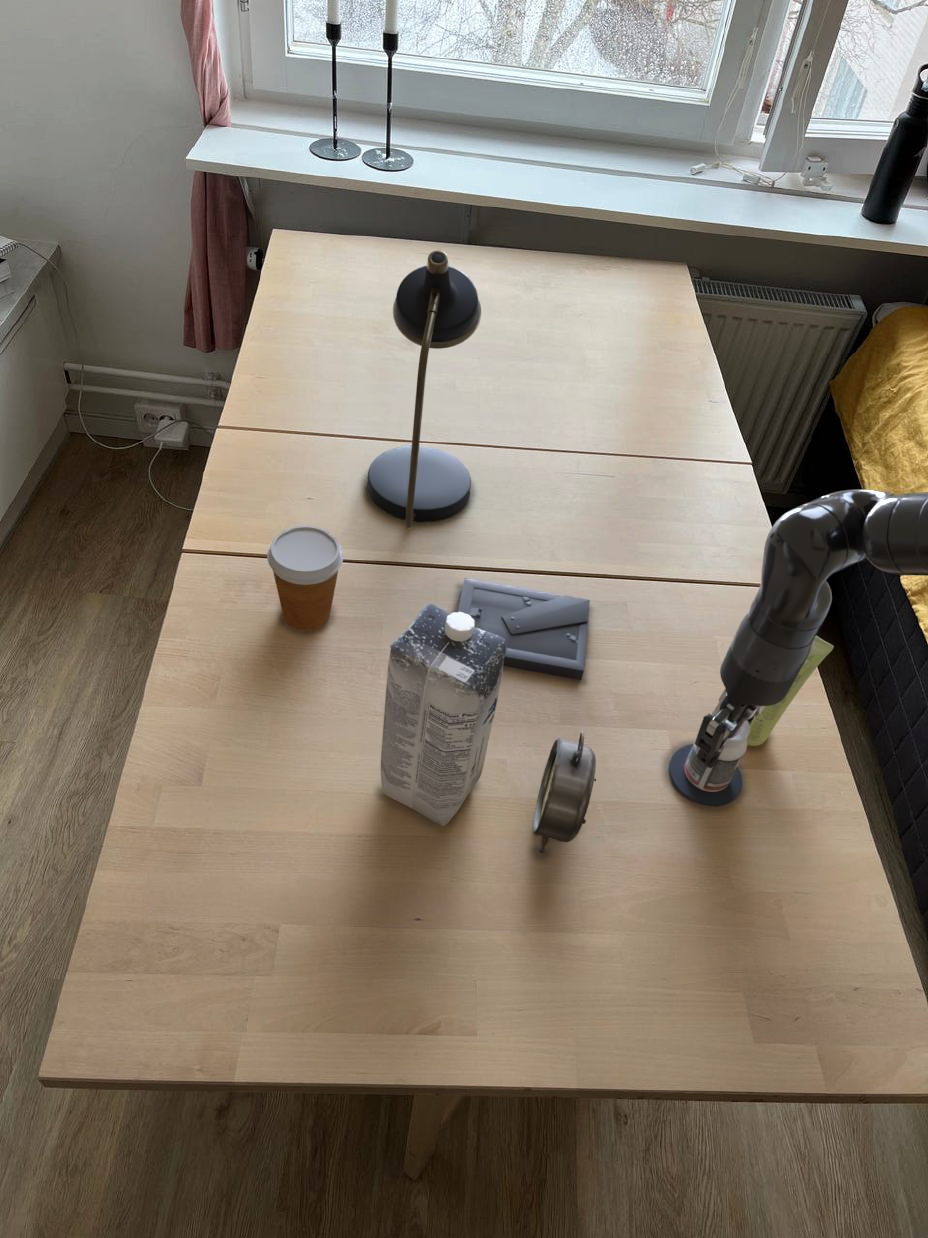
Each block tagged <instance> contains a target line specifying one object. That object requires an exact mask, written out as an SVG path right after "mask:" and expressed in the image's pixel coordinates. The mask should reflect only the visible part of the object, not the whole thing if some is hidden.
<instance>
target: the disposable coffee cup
mask: <svg viewBox="0 0 928 1238" xmlns="http://www.w3.org/2000/svg"><path fill="white" fill-rule="evenodd" d="M266 558H267V563H268V565H269V567H270V569H271V570H272V573H273V577H274V582H275V586H276V590H277V595H278V599H279V603H280V608H281V612H282V618H283V620H284V622H285V623H286V624H287V625H289V626H290V627H291V628H293V629H296V630H299V631H313V630H317V629H320V628H321V627H323V626H324V625H325V624H327V623H328V621H329V620H330V617H331V613H332V612H331V611H332V607H333V600H334V595H335V590H336V586H337V579H338V576H339V575H338V574H339V570H340V569H341V566H342V564H343V561H344V550H343V548H342V546H341V545H340V543H339V541H338V539H337V537H336V536H335V535H334V534H333V533H332V532H330V531H328V530H326V528H325V529H324V528H322V527H320V526H314V525H307V524H306V525H305V524H304V525H303V524H302V525H295V526H292V527H288V528H286V529H283V530H282V531H280V532H279V533H277V535H276V536H275V537H274V538H273V539H272V541H271V544H270V545H269V547H268V549H267V554H266Z"/></svg>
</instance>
